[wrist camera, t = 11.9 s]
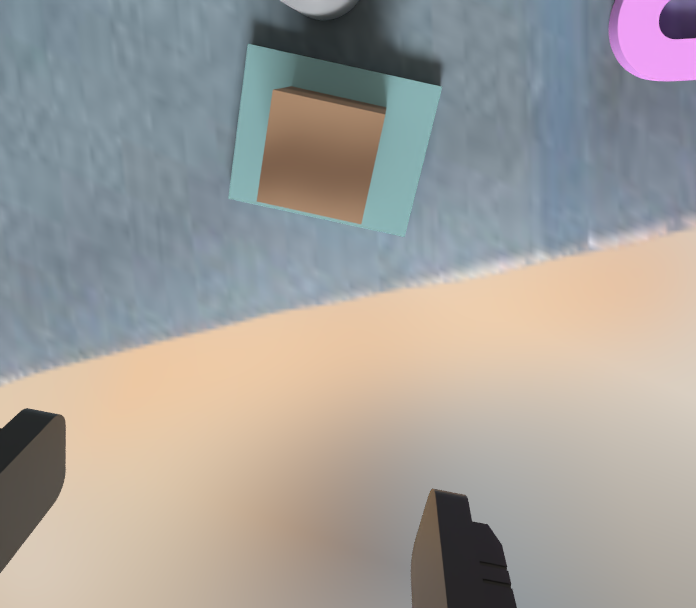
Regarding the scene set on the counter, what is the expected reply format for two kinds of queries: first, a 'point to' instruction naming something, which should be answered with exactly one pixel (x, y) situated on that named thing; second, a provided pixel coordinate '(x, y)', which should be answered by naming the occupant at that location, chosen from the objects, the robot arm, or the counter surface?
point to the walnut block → (319, 153)
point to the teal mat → (352, 83)
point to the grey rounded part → (321, 8)
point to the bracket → (649, 43)
